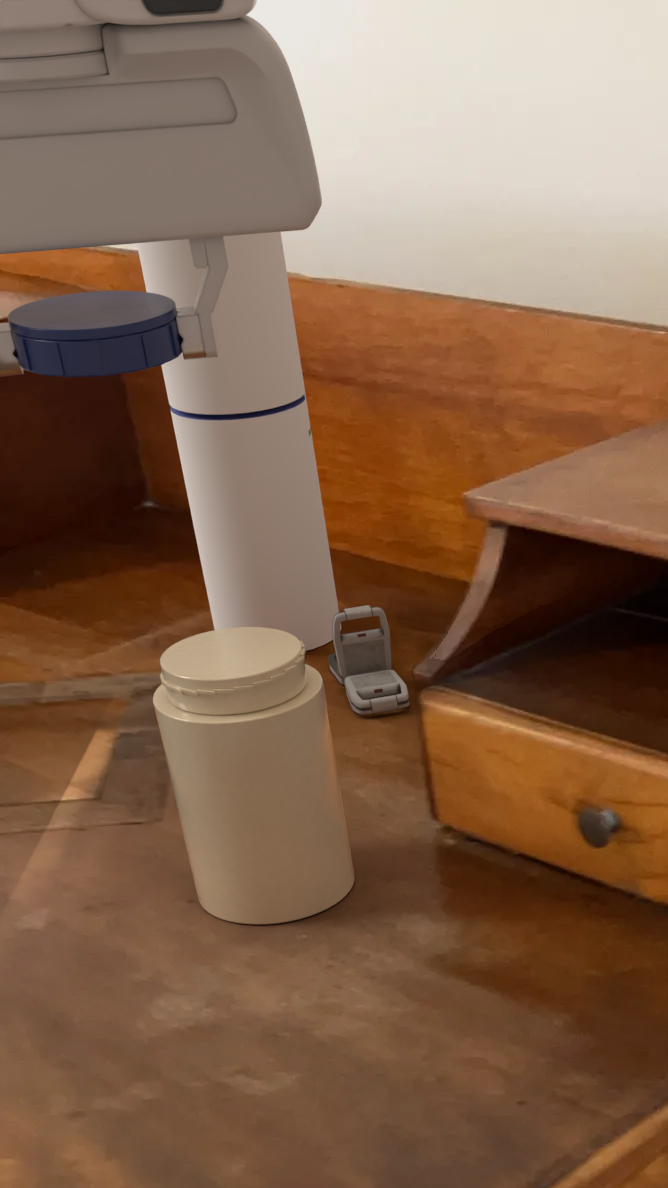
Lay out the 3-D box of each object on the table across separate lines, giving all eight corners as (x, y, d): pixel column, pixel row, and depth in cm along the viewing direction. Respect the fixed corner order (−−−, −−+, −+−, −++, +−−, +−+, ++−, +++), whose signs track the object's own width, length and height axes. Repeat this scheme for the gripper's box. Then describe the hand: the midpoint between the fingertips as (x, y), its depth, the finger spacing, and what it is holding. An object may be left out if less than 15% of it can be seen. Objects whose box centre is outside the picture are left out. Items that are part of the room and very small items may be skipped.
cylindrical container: (195, 652, 97) (87, 138, 81) (248, 607, 102) (156, 118, 87) (312, 660, 95) (225, 138, 80) (359, 614, 101) (287, 117, 85)
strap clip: (414, 711, 89) (404, 631, 87) (357, 720, 89) (345, 640, 86) (379, 655, 96) (368, 578, 93) (325, 663, 95) (313, 586, 92)
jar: (209, 938, 71) (154, 696, 65) (188, 867, 76) (134, 636, 70) (369, 906, 73) (331, 667, 66) (338, 838, 78) (299, 611, 72)
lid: (169, 374, 70) (160, 327, 69) (1, 380, 70) (-11, 332, 69) (195, 333, 76) (187, 288, 74) (39, 338, 75) (28, 293, 74)
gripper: (-292, -11, 61) (-160, 406, 69) (290, -43, 64) (347, 359, 72) (-257, -20, 65) (-138, 370, 74) (282, -50, 68) (336, 328, 77)
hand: (105, 364), depth 73 cm, fingers closed on lid, 7 cm apart
